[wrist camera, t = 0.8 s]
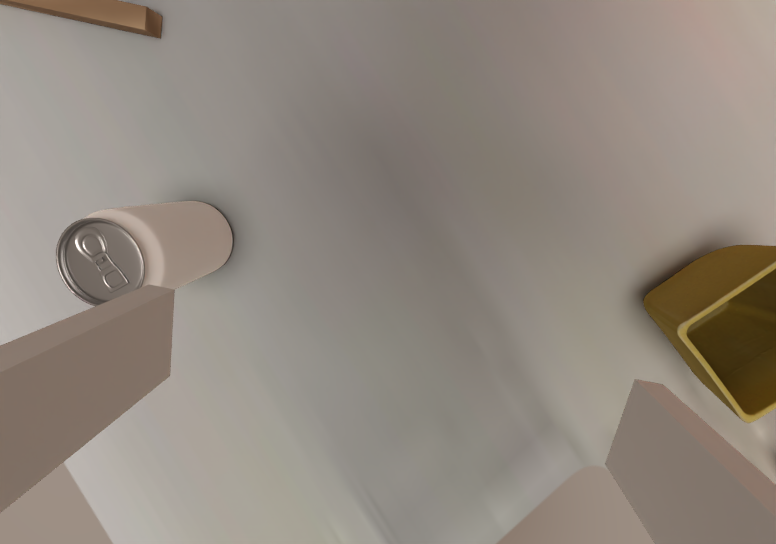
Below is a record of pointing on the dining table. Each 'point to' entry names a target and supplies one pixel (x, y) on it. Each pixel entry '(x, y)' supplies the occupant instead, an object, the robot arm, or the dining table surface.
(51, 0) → the oak track
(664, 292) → the flower pot
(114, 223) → the can
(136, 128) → the dining table surface
